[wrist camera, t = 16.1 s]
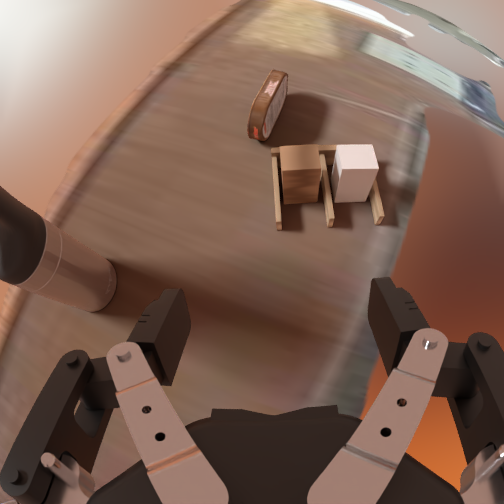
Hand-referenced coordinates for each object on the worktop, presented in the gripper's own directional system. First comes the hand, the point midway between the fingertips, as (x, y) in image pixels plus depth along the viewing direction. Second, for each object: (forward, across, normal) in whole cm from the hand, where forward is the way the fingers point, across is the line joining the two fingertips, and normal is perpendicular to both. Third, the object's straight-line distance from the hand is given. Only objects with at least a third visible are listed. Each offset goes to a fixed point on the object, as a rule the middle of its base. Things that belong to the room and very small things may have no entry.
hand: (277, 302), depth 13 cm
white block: (+36, -11, +5) cm, 38 cm away
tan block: (+36, -3, +5) cm, 36 cm away
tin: (+47, 0, -6) cm, 47 cm away
